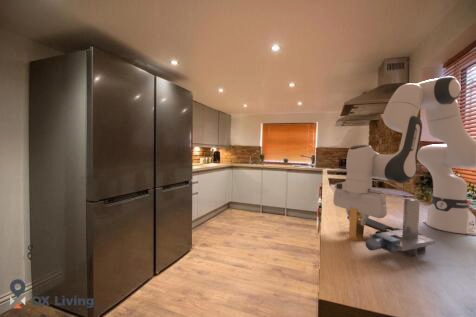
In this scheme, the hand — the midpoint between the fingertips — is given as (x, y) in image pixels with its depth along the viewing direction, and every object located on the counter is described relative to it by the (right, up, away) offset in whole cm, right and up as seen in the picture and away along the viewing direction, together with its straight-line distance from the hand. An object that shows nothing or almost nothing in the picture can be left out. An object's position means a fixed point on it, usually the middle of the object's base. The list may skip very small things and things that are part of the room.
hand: (356, 223), depth 83 cm
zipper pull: (+10, -6, 0) cm, 12 cm away
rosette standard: (+4, -7, -14) cm, 16 cm away
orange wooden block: (0, -6, 0) cm, 6 cm away
